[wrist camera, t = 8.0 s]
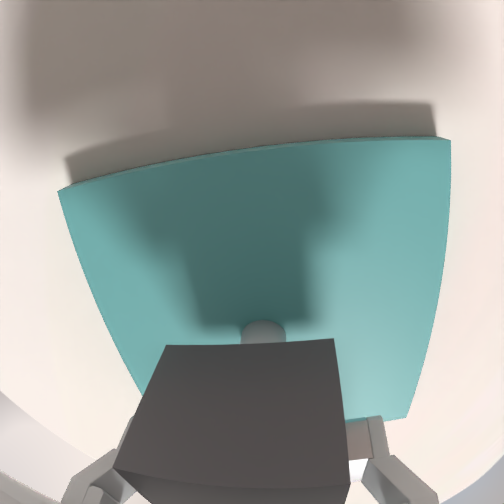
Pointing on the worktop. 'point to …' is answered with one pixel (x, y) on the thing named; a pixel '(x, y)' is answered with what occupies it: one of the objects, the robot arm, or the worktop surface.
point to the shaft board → (275, 255)
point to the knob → (240, 426)
